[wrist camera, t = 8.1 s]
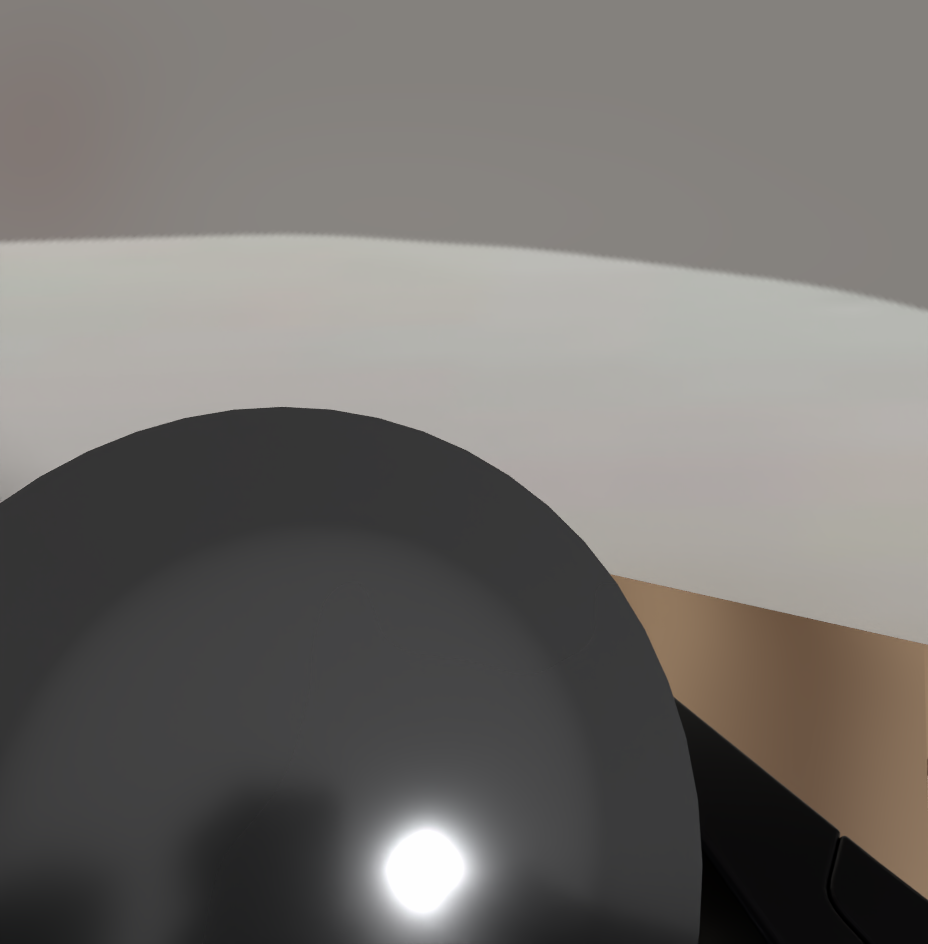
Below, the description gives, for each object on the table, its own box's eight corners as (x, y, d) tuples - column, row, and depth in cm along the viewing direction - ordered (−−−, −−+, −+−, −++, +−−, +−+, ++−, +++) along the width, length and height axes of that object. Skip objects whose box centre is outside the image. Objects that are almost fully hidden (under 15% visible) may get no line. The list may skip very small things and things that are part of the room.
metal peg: (344, 1007, 14) (-105, 1840, 3) (241, 778, 16) (-327, 645, 4) (550, 865, 15) (901, 990, 4) (435, 663, 17) (418, 298, 5)
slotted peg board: (-41, 1061, 14) (-97, 1087, 12) (187, 503, 18) (165, 475, 17) (1523, 1502, 12) (1673, 1596, 11) (1346, 763, 17) (1432, 757, 15)
